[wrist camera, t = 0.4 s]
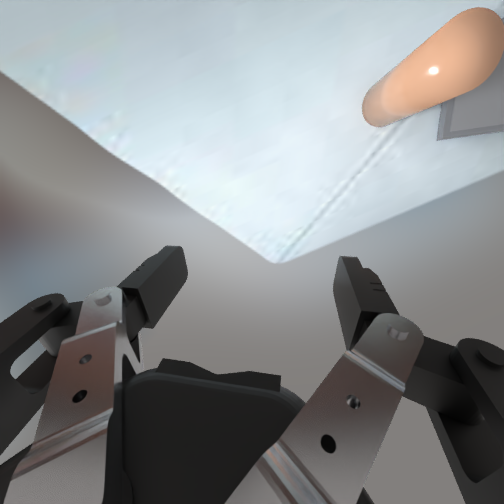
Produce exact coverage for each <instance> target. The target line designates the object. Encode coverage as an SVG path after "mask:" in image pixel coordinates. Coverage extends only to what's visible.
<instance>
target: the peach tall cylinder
mask: <svg viewBox="0 0 504 504" xmlns="http://www.w3.org/2000/svg"><path fill="white" fill-rule="evenodd" d="M503 51H504V24H503V22H502V20H501V18H500V17H499V16H498V15H497V14H496V13H495V12H494V11H492V10H490V9H487V8H479V7H478V8H472V9H468V10H466V11H463V12H461V13H459V14H458V15H456V16H455V17H453V18H452V19H451V20H450V21H449V22H447V23H446V24H445V25H444V26H443V27H441V28H440V29H439V30H438V31H437V32H436V33H434V34H433V35H432V36H431V37H430V38H429V39H427V40H426V41H425V42H424V43H423V44H421V45H420V46H419V47H418V48H417V49H416V50H414V51H413V52H412V53H411V54H410V55H408V56H407V57H406V58H405V59H404V60H403V61H401V62H400V63H399V64H398V65H397V66H396V67H394V68H393V69H392V70H391V71H390V72H388V73H387V74H386V75H385V76H384V77H383V78H381V79H380V80H379V81H378V82H377V83H375V84H374V85H373V86H372V87H371V88H370V89H369V90H368V92H367V93H366V95H365V97H364V100H363V104H362V113H363V116H364V119H365V120H366V121H367V123H369V124H370V125H372V126H374V127H384V126H387V125H389V124H392V123H394V122H397V121H399V120H401V119H404V118H406V117H409V116H411V115H413V114H416V113H418V112H421V111H423V110H425V109H428V108H430V107H433V106H435V105H437V104H440V103H442V102H445V101H447V100H449V99H452V98H454V97H457V96H459V95H462V94H464V93H466V92H469V91H471V90H473V89H475V88H476V87H478V86H479V85H481V84H482V83H483V82H484V81H485V80H486V79H487V78H488V77H489V76H490V75H491V74H492V72H493V71H494V70H495V68H496V67H497V65H498V63H499V61H500V59H501V57H502V54H503Z"/></svg>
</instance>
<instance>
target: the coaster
mask: <svg viewBox="0 0 504 504" xmlns="http://www.w3.org/2000/svg"><path fill="white" fill-rule="evenodd" d="M501 20H502V22H503V24H504V18H503V19H501ZM503 131H504V51H503V54H502V57H501V59H500V61H499V63H498V65H497V67H496V68H495V70H494V71H493V72H492V74H491V75H490V76H489V77H488V78H487V79H486V80H485V81H484V82H483V83H482V84H481V85H479V86H478V87H476V88H475V89H473V90H471V91H469V92H466V93H464V94H462V95H459V96H457V97H454V98H452V99H449V100H447V101H445V102H442V106H441V113H440V121H439V128H438V135H437V141H438V140H445V139H452V138H459V137H467V136H474V135H481V134H488V133H496V132H503Z"/></svg>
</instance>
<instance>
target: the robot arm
mask: <svg viewBox="0 0 504 504" xmlns="http://www.w3.org/2000/svg"><path fill="white" fill-rule="evenodd" d="M187 276H188V270H187V265H186V261H185V256H184V252H183V249H182V247H180V246H165V247H164V248H163V249H162V250H161V251H160V252H159V253H158V254H155V255H154V256H152V257H150V258H148V259H147V260H145V262H143V263H142V264H141V266H139V267H138V268H137V269H136V271H133V272H132V273H131V274H130V275H129V276H128V277H127V278H126V279H125V280H123V281H122V282H121V283H120V284H119V285H118V286H117V287H107V288H103V289H100V290H97V291H95V292H93V293H92V294H91V295H89V296H88V297H86V299H85V300H84V301H80V302H73V303H68V302H67V300H66V299H65V297H64V295H62V294H58V293H57V294H49V295H45V296H42V297H40V298H37V299H35V300H33V301H32V302H30V303H28V304H27V305H25V306H24V307H22V308H21V309H20V310H18V311H17V312H15V313H14V314H13V315H11V316H10V317H8V318H7V319H5V320H4V321H3V322H1V323H0V455H1V454H2V453H3V452H4V450H5V449H6V448H7V447H8V446H9V444H10V443H11V442H12V441H13V440H14V438H15V437H16V436H17V435H18V434H19V433H20V431H21V430H22V429H23V428H24V427H25V425H26V424H27V423H28V422H29V421H30V419H31V418H32V417H33V416H34V415H35V414H36V412H37V411H38V410H39V409H40V408H41V406H42V405H43V404H44V406H43V409H42V413H41V416H40V420H39V423H38V427H37V430H36V434H35V438H34V441H33V443H32V444H31V445H29V446H28V447H26V448H25V449H23V450H22V451H20V452H19V453H17V454H16V455H15V456H13V457H12V458H10V459H8V460H7V461H6V462H4V463H3V464H2V465H0V504H374V503H373V501H372V500H371V498H370V496H369V495H368V494H367V492H366V490H365V489H364V487H363V486H364V484H365V482H366V479H367V477H368V475H369V472H370V470H371V468H372V465H373V463H374V461H375V458H376V456H377V454H378V452H379V449H380V447H381V445H382V442H383V440H384V438H385V435H386V433H387V431H388V428H389V426H390V424H391V421H392V419H393V417H394V414H395V412H396V410H397V407H398V405H399V403H400V400H401V398H402V396H403V397H405V398H407V399H410V400H412V401H414V402H417V403H419V404H421V405H423V406H426V408H427V411H428V413H429V416H430V418H431V421H432V423H433V425H434V428H435V430H436V433H437V435H438V438H439V440H440V442H441V445H442V448H443V450H444V452H445V455H446V457H447V459H448V462H449V464H450V467H451V469H452V472H453V474H454V477H455V479H456V482H457V484H458V486H459V489H460V491H461V494H462V496H463V499H464V501H465V503H466V504H504V350H502V349H500V348H499V347H497V346H495V345H493V344H490V343H488V342H485V341H482V340H479V339H472V338H465V339H462V340H460V341H459V342H458V344H457V345H456V347H455V346H451V345H449V344H446V343H443V342H439V341H437V340H433V339H431V338H428V337H425V336H424V335H423V333H422V331H421V330H420V328H419V327H418V326H417V325H416V324H414V323H413V322H412V321H410V320H409V319H407V318H405V317H402V316H400V315H399V313H398V311H397V309H396V307H395V306H394V304H393V302H392V300H391V299H390V297H389V295H388V293H387V292H386V290H385V288H384V286H383V285H382V282H381V281H380V279H379V277H378V276H377V275H376V274H375V273H374V272H373V271H372V270H370V269H369V268H363V267H362V265H361V263H360V261H359V259H358V258H357V257H347V256H340V257H339V260H338V264H337V269H336V274H335V279H334V284H333V292H334V298H335V302H336V307H337V311H338V315H339V319H340V324H341V327H342V332H343V336H344V341H345V345H346V349H347V350H346V351H345V353H344V354H343V355H342V357H341V358H340V359H339V360H338V362H337V363H336V364H335V365H334V367H333V368H332V370H331V371H330V372H329V374H328V375H327V376H326V377H325V379H324V380H323V381H322V383H321V384H320V385H319V387H318V388H317V389H316V391H315V392H314V393H313V395H312V396H311V397H310V399H309V400H308V401H307V402H306V403H305V402H304V401H303V400H302V399H301V398H299V397H298V396H297V395H296V394H295V393H293V392H291V391H290V390H288V389H286V388H284V387H281V386H280V382H281V376H280V375H273V374H266V373H259V372H252V371H246V372H237V373H228V374H214V373H212V372H210V371H208V370H205V369H203V368H201V367H199V366H197V365H195V364H193V363H190V362H185V361H178V360H171V359H165V358H163V359H162V361H161V362H160V364H159V366H158V368H155V369H150V370H147V371H144V364H143V353H142V343H141V335H140V332H139V331H140V330H141V329H142V327H143V328H151V329H153V328H154V327H155V325H156V324H157V322H158V321H159V319H160V318H161V316H162V315H163V314H164V312H165V311H166V309H167V308H168V306H169V305H170V304H171V302H172V301H173V299H174V298H175V296H176V295H177V293H178V292H179V291H180V289H181V288H182V286H183V285H184V283H185V282H186V280H187ZM37 340H39V341H40V342H41V343H42V345H43V346H44V347H45V348H46V351H45V352H44V353H43V354H41V355H40V356H39V357H38V358H37V359H36V361H34V362H33V363H32V364H31V365H30V366H29V367H28V368H27V369H26V370H25V371H24V372H23V373H22V374H21V375H20V376H19V377H18V378H17V379H16V380H15V379H14V378H13V377H12V375H11V374H10V368H11V366H12V364H13V362H14V361H15V360H16V359H17V358H18V357H19V356H20V355H21V354H22V353H24V352H25V351H26V350H27V349H28V348H29V347H30V346H31V345H32V344H34V343H35V342H36V341H37Z"/></svg>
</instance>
